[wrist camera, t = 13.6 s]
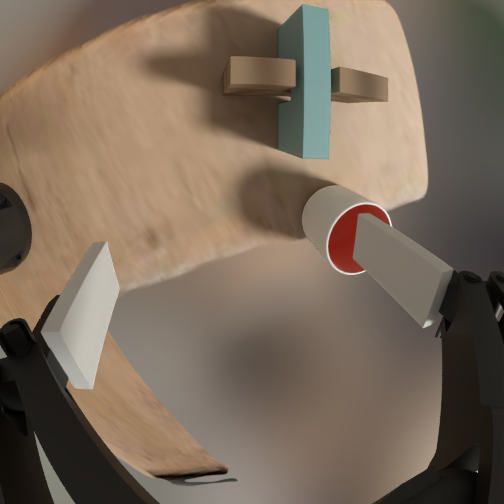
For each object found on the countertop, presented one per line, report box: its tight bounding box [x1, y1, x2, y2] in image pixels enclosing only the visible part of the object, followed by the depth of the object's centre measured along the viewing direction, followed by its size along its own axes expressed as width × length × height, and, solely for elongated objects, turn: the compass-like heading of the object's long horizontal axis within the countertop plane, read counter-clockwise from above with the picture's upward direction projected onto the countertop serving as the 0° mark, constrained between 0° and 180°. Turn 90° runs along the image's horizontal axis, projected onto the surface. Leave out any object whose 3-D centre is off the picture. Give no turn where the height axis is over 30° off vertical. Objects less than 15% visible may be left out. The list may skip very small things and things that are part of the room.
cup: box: [302, 185, 392, 275], centre depth 38 cm, size 10×10×10 cm
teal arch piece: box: [278, 4, 331, 160], centre depth 29 cm, size 18×3×10 cm, turn 0°
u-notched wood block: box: [223, 56, 388, 103], centre depth 29 cm, size 18×3×10 cm, turn 90°
